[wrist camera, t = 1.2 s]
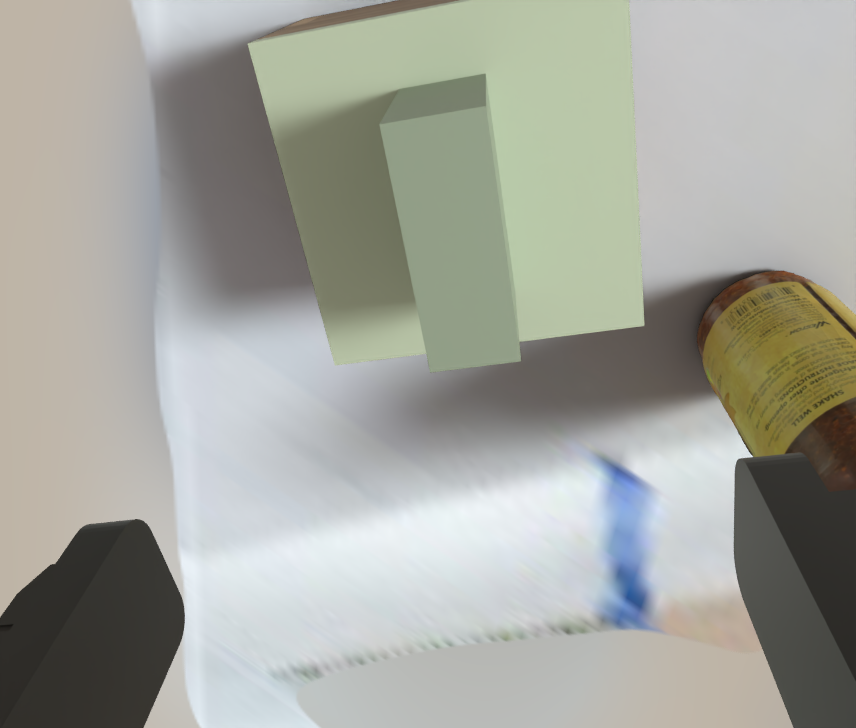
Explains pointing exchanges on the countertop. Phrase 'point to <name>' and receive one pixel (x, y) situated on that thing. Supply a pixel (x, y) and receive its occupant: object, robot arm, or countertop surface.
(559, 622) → the countertop surface
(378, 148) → the lid
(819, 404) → the sauce bottle
